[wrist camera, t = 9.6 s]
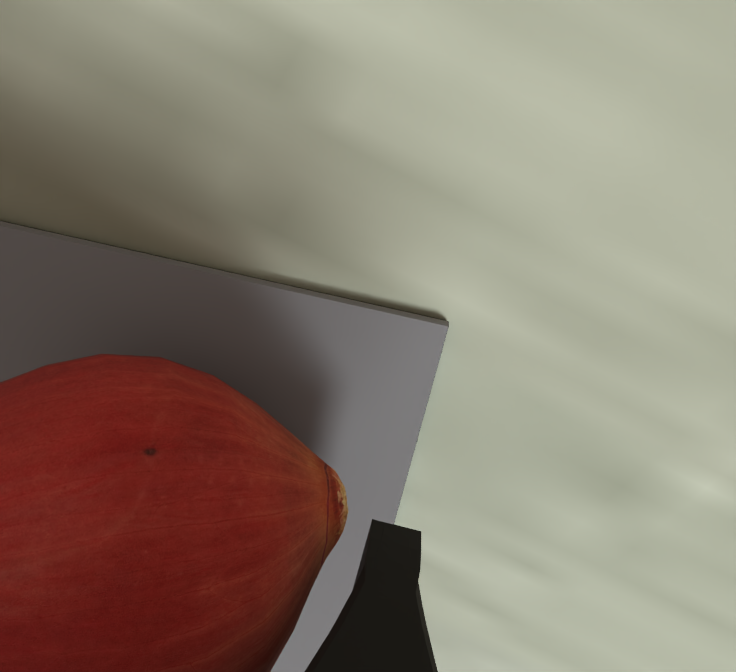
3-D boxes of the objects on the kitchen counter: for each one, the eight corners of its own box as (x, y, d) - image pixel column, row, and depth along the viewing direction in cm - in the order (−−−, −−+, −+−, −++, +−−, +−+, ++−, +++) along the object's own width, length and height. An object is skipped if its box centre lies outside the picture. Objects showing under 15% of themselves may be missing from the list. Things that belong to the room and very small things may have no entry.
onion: (332, 668, 13) (-168, 831, 10) (273, 390, 15) (-168, 455, 12) (468, 695, 8) (-455, 1041, 5) (355, 269, 10) (-381, 328, 7)
